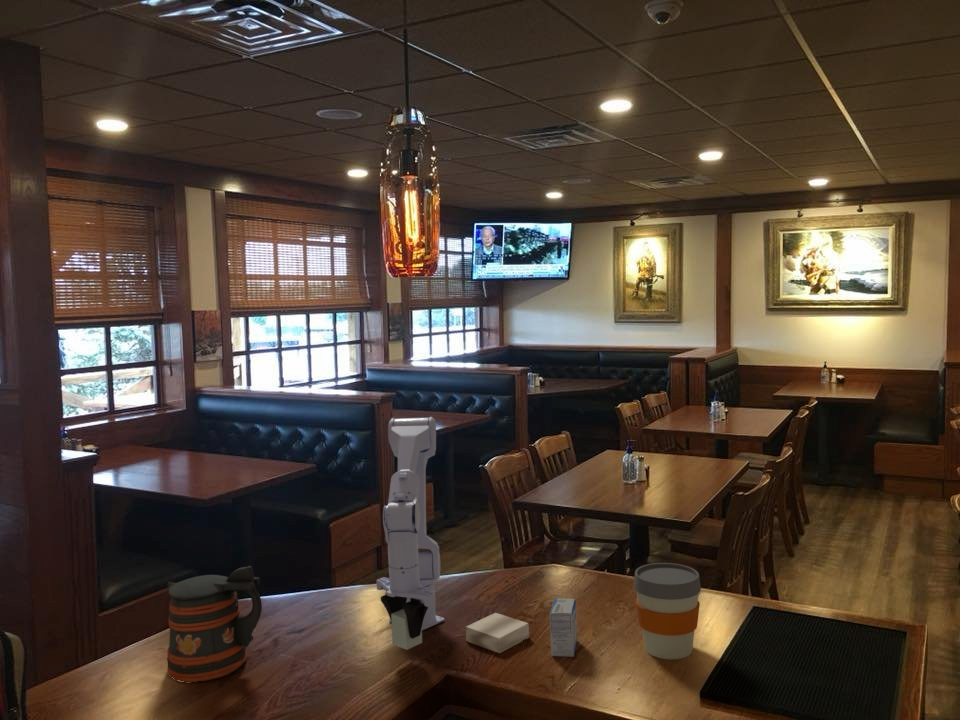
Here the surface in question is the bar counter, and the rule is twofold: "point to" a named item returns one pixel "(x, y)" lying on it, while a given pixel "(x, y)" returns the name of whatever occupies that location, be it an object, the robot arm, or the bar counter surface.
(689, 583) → the reusable coffee cup
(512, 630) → the birch block
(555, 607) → the medicine box
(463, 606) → the bar counter surface
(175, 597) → the beer stein
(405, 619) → the sage block
